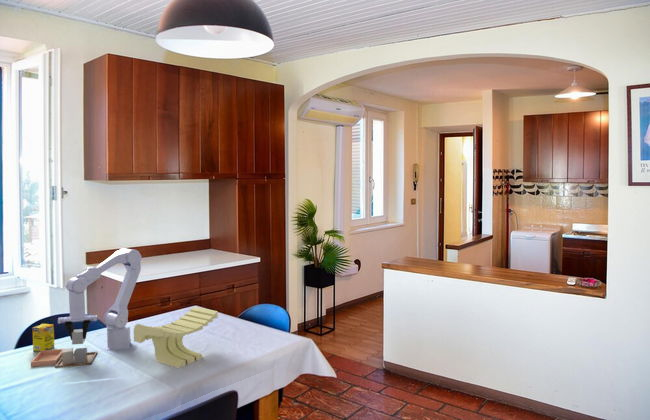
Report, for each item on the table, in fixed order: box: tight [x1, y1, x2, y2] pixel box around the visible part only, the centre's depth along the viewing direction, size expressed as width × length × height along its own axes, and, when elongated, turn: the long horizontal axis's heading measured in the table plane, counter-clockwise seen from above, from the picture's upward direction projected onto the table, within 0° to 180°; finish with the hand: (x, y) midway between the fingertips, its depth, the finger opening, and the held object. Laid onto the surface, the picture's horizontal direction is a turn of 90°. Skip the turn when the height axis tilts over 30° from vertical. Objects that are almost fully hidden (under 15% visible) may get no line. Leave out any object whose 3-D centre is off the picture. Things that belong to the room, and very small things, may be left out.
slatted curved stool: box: [133, 306, 219, 369], centre depth 204 cm, size 30×16×18 cm, turn 146°
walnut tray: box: [54, 351, 98, 369], centre depth 202 cm, size 13×13×1 cm
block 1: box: [71, 328, 86, 345], centre depth 204 cm, size 4×4×5 cm
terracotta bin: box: [30, 348, 63, 368], centre depth 202 cm, size 9×13×2 cm
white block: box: [61, 347, 74, 365], centre depth 199 cm, size 4×4×5 cm
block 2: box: [73, 347, 88, 364], centre depth 200 cm, size 4×4×5 cm
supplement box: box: [31, 323, 55, 353], centre depth 214 cm, size 6×6×11 cm
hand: (78, 338), depth 205 cm, fingers closed on block 1, 4 cm apart
